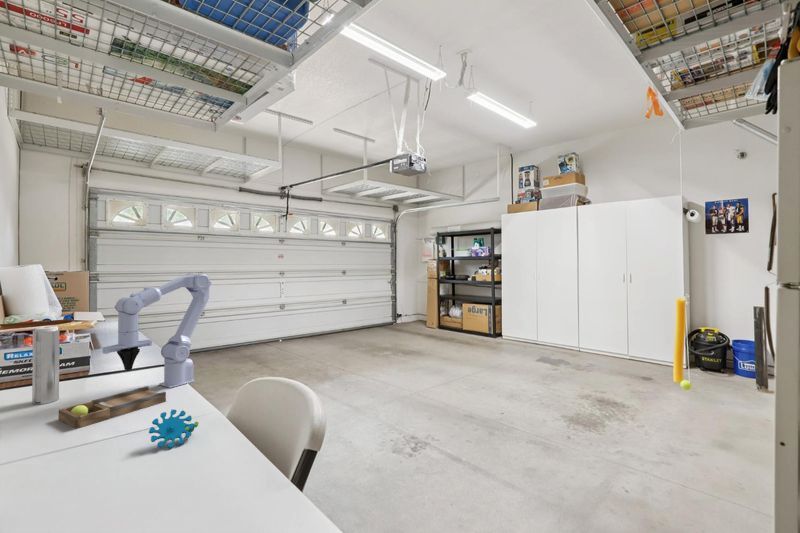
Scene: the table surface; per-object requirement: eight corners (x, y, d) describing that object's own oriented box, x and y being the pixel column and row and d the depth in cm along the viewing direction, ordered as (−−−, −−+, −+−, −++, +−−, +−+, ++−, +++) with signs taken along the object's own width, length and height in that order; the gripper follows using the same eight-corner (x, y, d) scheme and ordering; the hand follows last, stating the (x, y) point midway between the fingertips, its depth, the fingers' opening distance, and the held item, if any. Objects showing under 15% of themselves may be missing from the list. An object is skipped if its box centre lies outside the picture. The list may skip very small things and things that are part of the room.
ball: (83, 402, 111) (67, 406, 107) (91, 405, 109) (75, 409, 105) (82, 415, 111) (66, 419, 107) (90, 418, 109) (74, 423, 105)
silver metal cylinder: (27, 403, 121) (28, 328, 121) (52, 396, 127) (53, 325, 127) (38, 405, 118) (39, 329, 118) (63, 399, 124) (63, 326, 124)
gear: (146, 448, 88) (151, 409, 94) (144, 458, 91) (149, 420, 98) (198, 442, 94) (199, 406, 101) (194, 452, 97) (195, 416, 104)
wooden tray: (146, 395, 129) (146, 386, 129) (165, 401, 123) (165, 391, 123) (58, 419, 108) (58, 409, 108) (76, 428, 102) (76, 417, 102)
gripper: (144, 327, 136) (144, 363, 136) (98, 333, 123) (97, 373, 123) (155, 328, 132) (155, 365, 132) (108, 335, 120) (108, 376, 120)
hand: (128, 369), depth 127 cm, fingers closed
